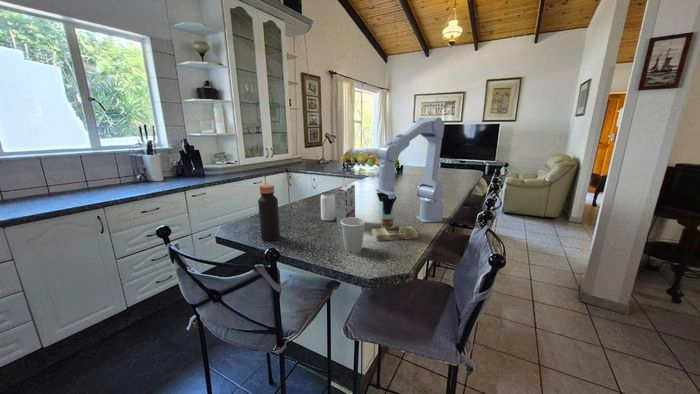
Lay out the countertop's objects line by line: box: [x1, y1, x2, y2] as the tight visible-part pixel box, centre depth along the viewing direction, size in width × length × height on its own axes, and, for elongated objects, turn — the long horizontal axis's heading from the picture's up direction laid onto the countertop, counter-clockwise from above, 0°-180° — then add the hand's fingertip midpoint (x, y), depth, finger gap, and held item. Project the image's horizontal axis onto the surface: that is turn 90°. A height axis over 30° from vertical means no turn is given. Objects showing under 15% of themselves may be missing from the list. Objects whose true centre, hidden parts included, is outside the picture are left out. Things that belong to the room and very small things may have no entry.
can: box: [320, 191, 336, 222], centre depth 123 cm, size 6×6×12 cm
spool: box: [379, 214, 396, 231], centre depth 113 cm, size 6×6×5 cm
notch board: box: [371, 226, 419, 241], centre depth 105 cm, size 16×7×2 cm, turn 99°
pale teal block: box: [379, 201, 394, 220], centre depth 106 cm, size 4×4×6 cm
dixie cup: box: [341, 216, 367, 253], centre depth 92 cm, size 8×8×10 cm
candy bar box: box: [335, 183, 356, 229], centre depth 116 cm, size 11×5×16 cm, turn 161°
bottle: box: [257, 184, 281, 242], centre depth 100 cm, size 7×7×20 cm
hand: (385, 212), depth 106 cm, fingers closed on pale teal block, 4 cm apart
